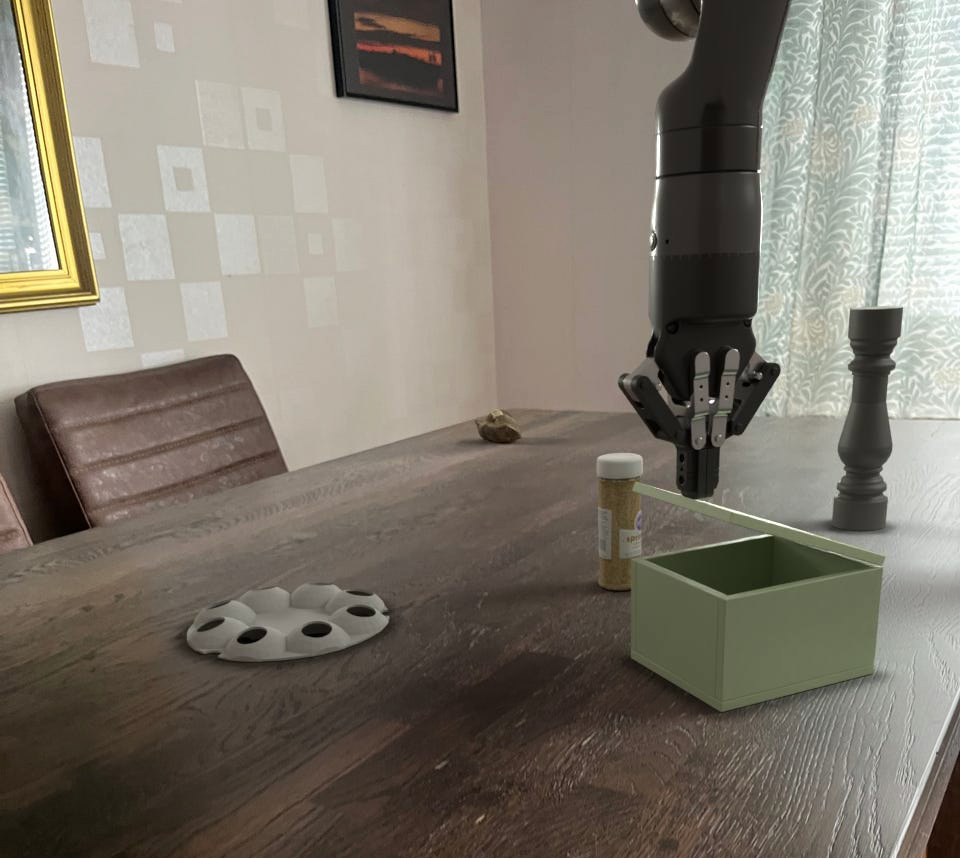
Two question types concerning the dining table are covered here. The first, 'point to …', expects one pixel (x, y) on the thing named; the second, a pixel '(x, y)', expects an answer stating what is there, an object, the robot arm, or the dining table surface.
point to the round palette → (287, 623)
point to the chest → (754, 618)
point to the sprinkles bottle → (618, 518)
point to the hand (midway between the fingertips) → (697, 496)
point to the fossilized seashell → (499, 427)
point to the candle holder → (867, 420)
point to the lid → (759, 524)
